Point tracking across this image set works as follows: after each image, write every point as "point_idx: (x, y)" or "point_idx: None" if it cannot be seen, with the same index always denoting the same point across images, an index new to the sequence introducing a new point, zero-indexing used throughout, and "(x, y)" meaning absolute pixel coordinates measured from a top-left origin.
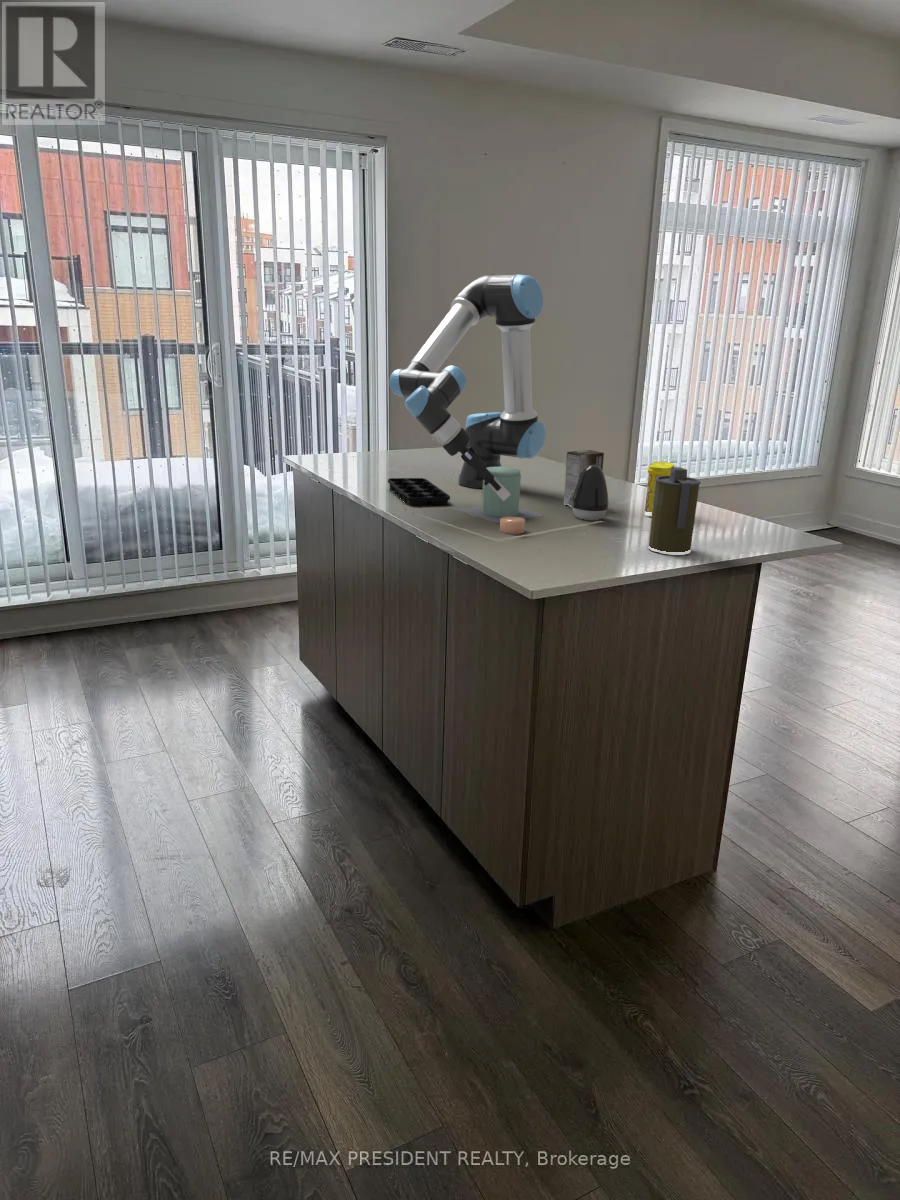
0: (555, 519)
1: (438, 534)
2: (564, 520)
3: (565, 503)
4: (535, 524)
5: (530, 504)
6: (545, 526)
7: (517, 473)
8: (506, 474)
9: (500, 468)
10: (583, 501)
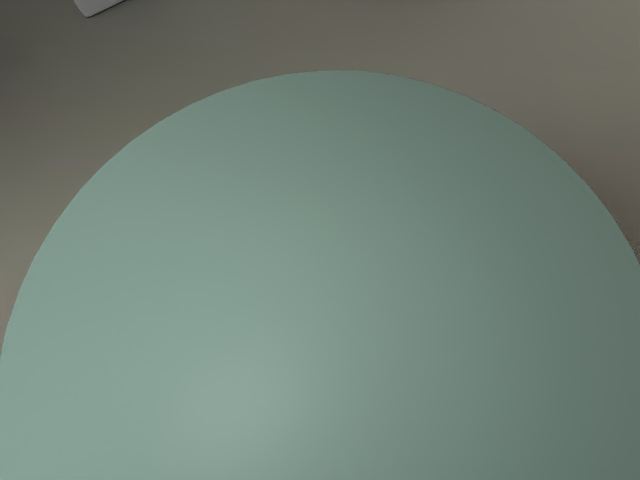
0: (433, 78)
1: None
2: (449, 39)
3: (95, 2)
4: (596, 193)
5: (50, 175)
6: (633, 142)
7: (495, 122)
8: (637, 292)
9: (170, 353)
10: None
